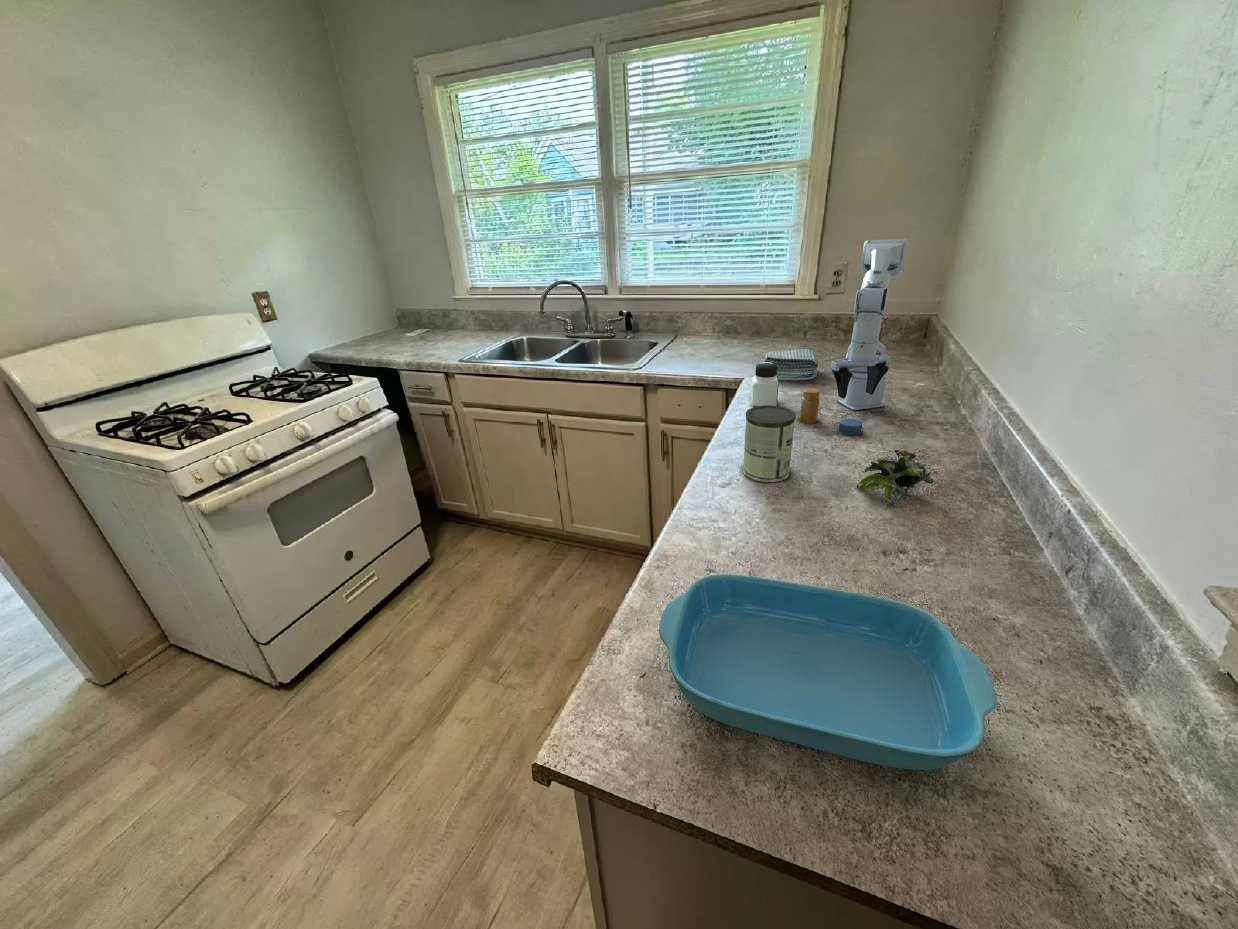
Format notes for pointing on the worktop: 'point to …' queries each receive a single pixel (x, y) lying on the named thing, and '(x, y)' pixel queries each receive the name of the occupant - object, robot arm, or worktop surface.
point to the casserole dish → (827, 670)
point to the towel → (794, 364)
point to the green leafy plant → (895, 474)
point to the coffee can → (768, 443)
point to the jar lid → (850, 426)
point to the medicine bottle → (765, 385)
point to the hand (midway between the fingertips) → (855, 395)
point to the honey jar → (809, 405)
